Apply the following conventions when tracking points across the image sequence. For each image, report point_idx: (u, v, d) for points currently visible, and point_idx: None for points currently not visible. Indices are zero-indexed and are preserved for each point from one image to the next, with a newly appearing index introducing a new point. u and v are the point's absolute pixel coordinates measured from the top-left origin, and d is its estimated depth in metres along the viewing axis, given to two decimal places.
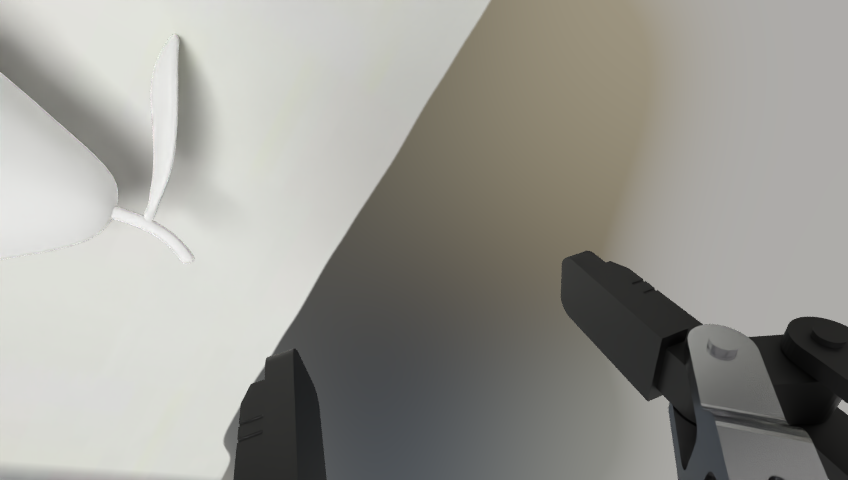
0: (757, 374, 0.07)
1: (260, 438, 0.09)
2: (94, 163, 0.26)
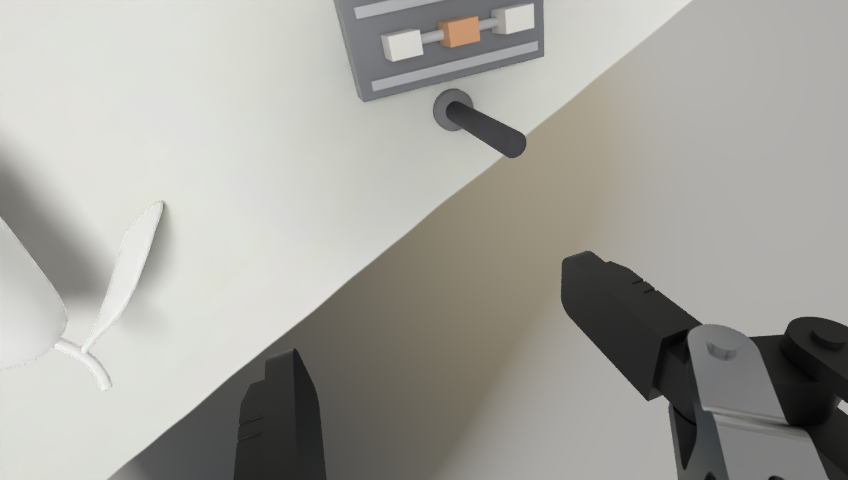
0: (757, 374, 0.07)
1: (260, 438, 0.09)
2: (56, 306, 0.32)
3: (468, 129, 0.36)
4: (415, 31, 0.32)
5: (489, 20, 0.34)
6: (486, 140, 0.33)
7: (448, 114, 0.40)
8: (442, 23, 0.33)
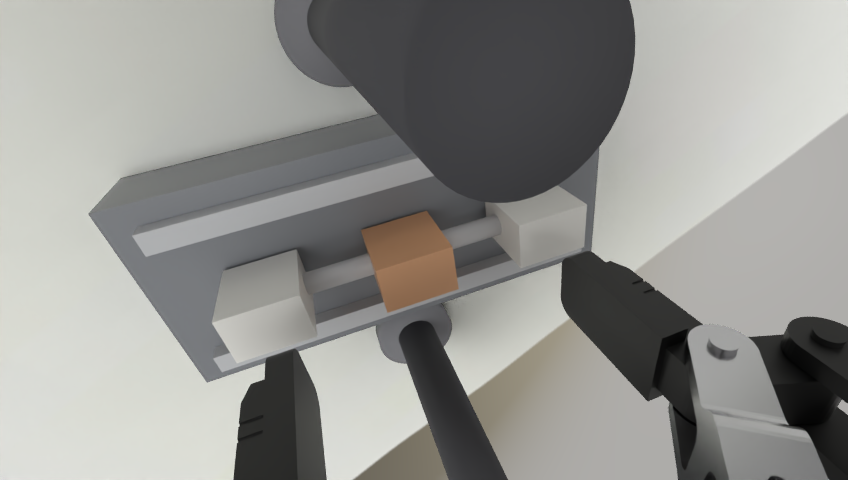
0: (757, 374, 0.07)
1: (260, 438, 0.09)
2: None
3: (435, 440, 0.17)
4: (289, 299, 0.12)
5: (481, 227, 0.15)
6: None
7: (402, 351, 0.21)
8: (368, 250, 0.14)
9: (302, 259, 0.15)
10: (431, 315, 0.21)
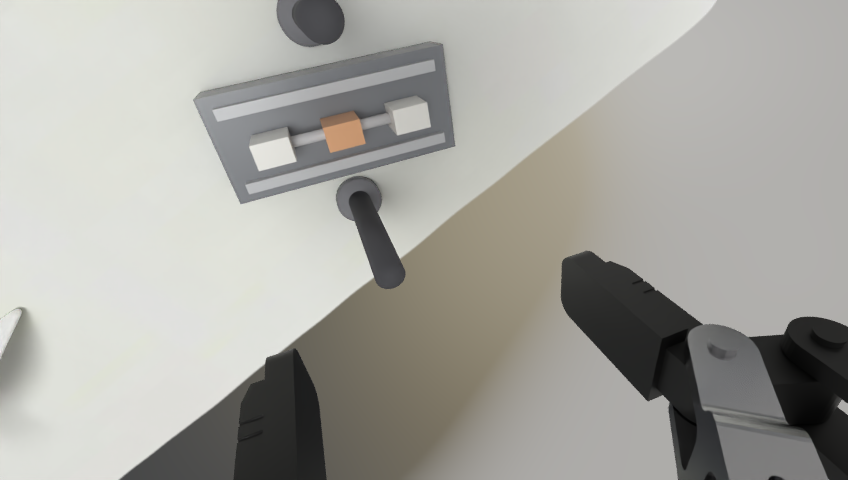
0: (757, 374, 0.07)
1: (260, 438, 0.09)
2: None
3: (360, 235, 0.32)
4: (283, 138, 0.27)
5: (380, 117, 0.30)
6: (368, 259, 0.28)
7: (350, 207, 0.36)
8: (321, 124, 0.29)
9: (290, 133, 0.30)
10: (367, 188, 0.36)
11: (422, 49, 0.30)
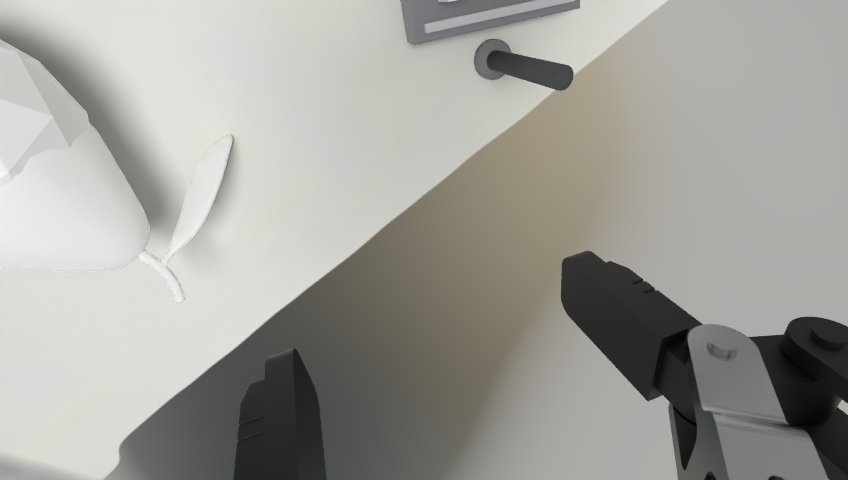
0: (757, 374, 0.07)
1: (260, 438, 0.09)
2: (143, 218, 0.35)
3: (513, 72, 0.39)
4: None
5: None
6: (533, 77, 0.36)
7: (489, 62, 0.43)
8: None
9: None
10: (502, 47, 0.44)
11: None
